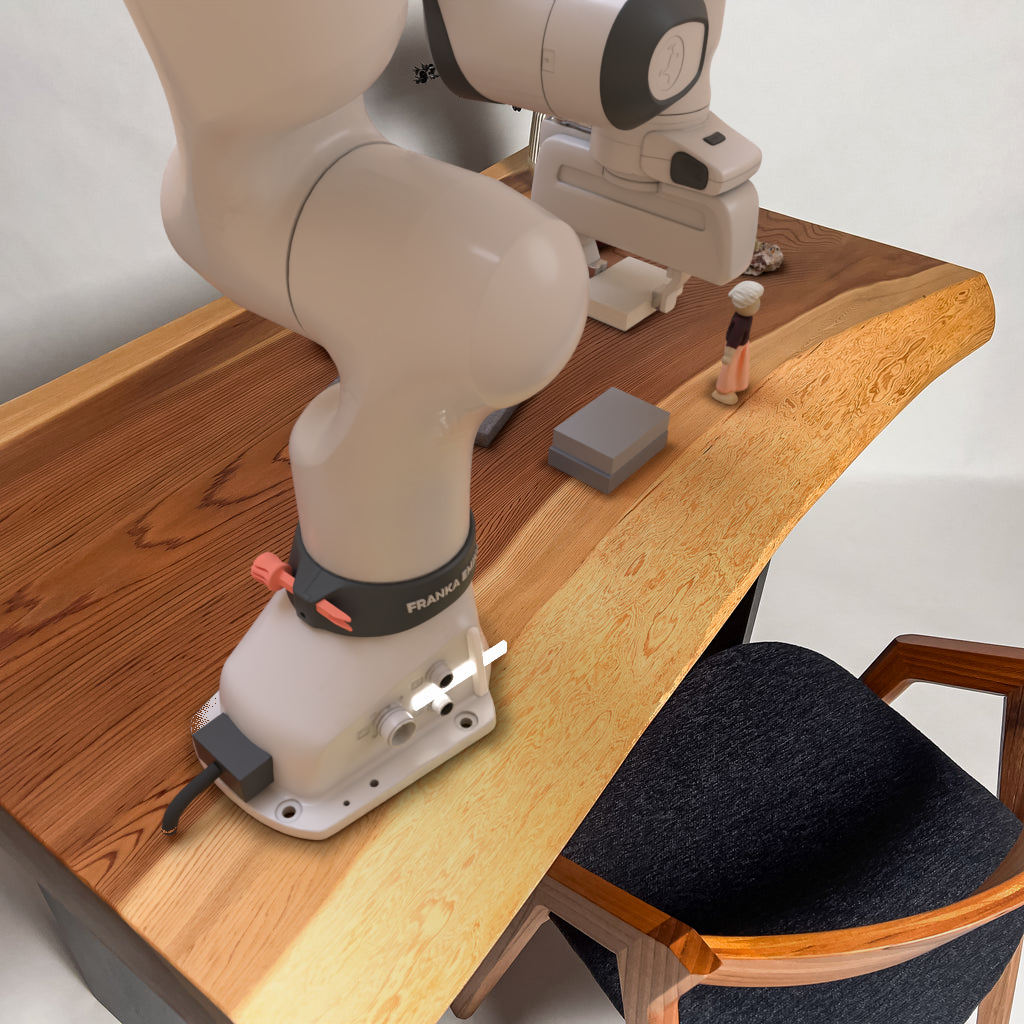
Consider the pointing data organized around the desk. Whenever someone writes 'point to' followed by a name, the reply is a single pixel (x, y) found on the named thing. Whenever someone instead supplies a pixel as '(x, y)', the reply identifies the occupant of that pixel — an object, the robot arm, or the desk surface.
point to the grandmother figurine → (738, 342)
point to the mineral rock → (764, 258)
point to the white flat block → (625, 292)
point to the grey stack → (609, 439)
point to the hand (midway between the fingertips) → (627, 294)
